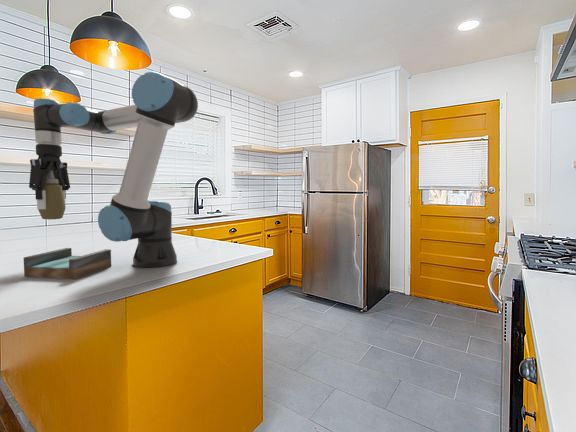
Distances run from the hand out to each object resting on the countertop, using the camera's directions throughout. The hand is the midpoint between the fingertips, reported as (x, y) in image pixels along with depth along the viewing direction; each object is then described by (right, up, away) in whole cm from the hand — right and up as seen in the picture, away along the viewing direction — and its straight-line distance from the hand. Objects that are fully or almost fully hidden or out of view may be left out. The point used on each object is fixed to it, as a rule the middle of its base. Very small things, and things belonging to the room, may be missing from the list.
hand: (52, 208), depth 118 cm
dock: (+13, -21, -10) cm, 27 cm away
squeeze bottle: (0, -4, 0) cm, 4 cm away
